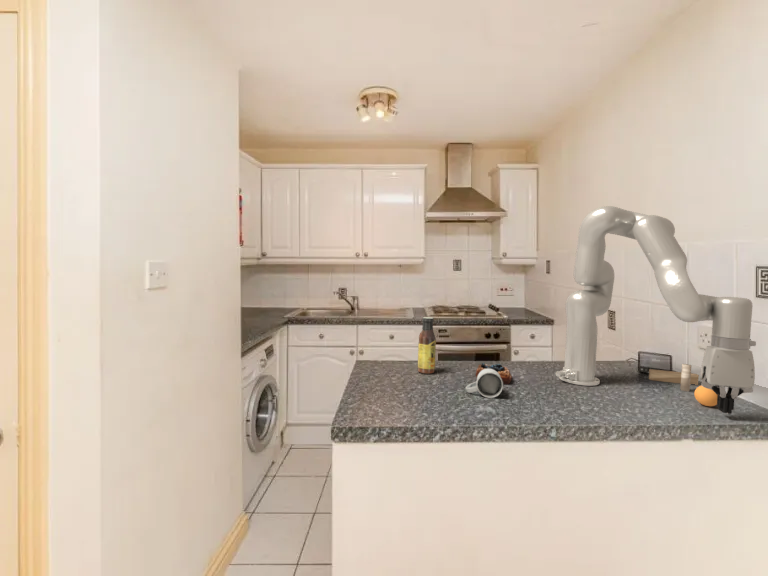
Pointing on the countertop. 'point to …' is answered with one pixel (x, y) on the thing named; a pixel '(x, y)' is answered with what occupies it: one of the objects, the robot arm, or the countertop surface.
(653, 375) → the wall
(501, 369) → the pastry
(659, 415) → the countertop surface
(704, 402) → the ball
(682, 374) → the pin
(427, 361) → the sauce bottle
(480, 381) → the ceramic mug
